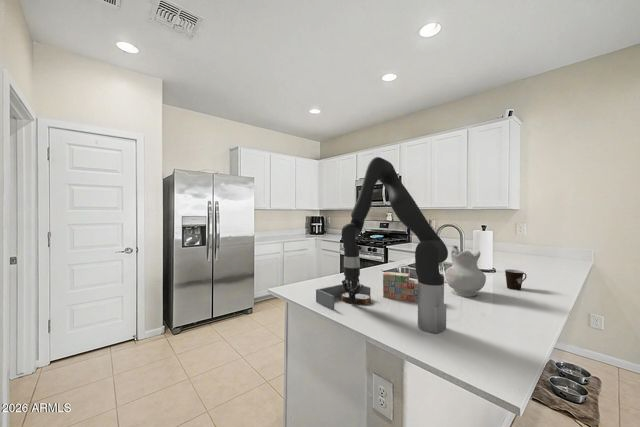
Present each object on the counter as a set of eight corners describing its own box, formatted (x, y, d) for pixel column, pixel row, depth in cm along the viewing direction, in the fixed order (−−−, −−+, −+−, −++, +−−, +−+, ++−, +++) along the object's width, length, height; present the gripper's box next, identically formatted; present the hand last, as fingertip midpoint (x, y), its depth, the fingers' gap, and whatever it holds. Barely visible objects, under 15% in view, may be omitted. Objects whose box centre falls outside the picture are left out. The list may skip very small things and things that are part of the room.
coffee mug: (508, 290, 151) (508, 272, 151) (502, 285, 160) (502, 269, 159) (532, 291, 148) (532, 273, 148) (525, 287, 156) (525, 270, 156)
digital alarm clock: (369, 305, 126) (372, 301, 134) (369, 298, 126) (372, 294, 134) (338, 301, 132) (343, 297, 139) (338, 295, 132) (343, 291, 140)
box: (370, 299, 135) (370, 287, 135) (332, 309, 121) (332, 296, 121) (352, 293, 145) (352, 281, 145) (316, 301, 131) (316, 289, 131)
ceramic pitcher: (434, 290, 154) (432, 247, 153) (462, 285, 160) (459, 243, 158) (465, 303, 133) (463, 253, 132) (495, 296, 139) (493, 248, 138)
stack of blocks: (428, 299, 135) (428, 275, 135) (427, 303, 129) (427, 278, 129) (385, 294, 144) (385, 271, 144) (382, 297, 138) (382, 273, 138)
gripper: (367, 266, 124) (368, 304, 124) (348, 262, 135) (348, 297, 135) (355, 268, 120) (356, 307, 120) (336, 264, 131) (337, 300, 131)
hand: (352, 302), depth 128 cm, fingers closed
